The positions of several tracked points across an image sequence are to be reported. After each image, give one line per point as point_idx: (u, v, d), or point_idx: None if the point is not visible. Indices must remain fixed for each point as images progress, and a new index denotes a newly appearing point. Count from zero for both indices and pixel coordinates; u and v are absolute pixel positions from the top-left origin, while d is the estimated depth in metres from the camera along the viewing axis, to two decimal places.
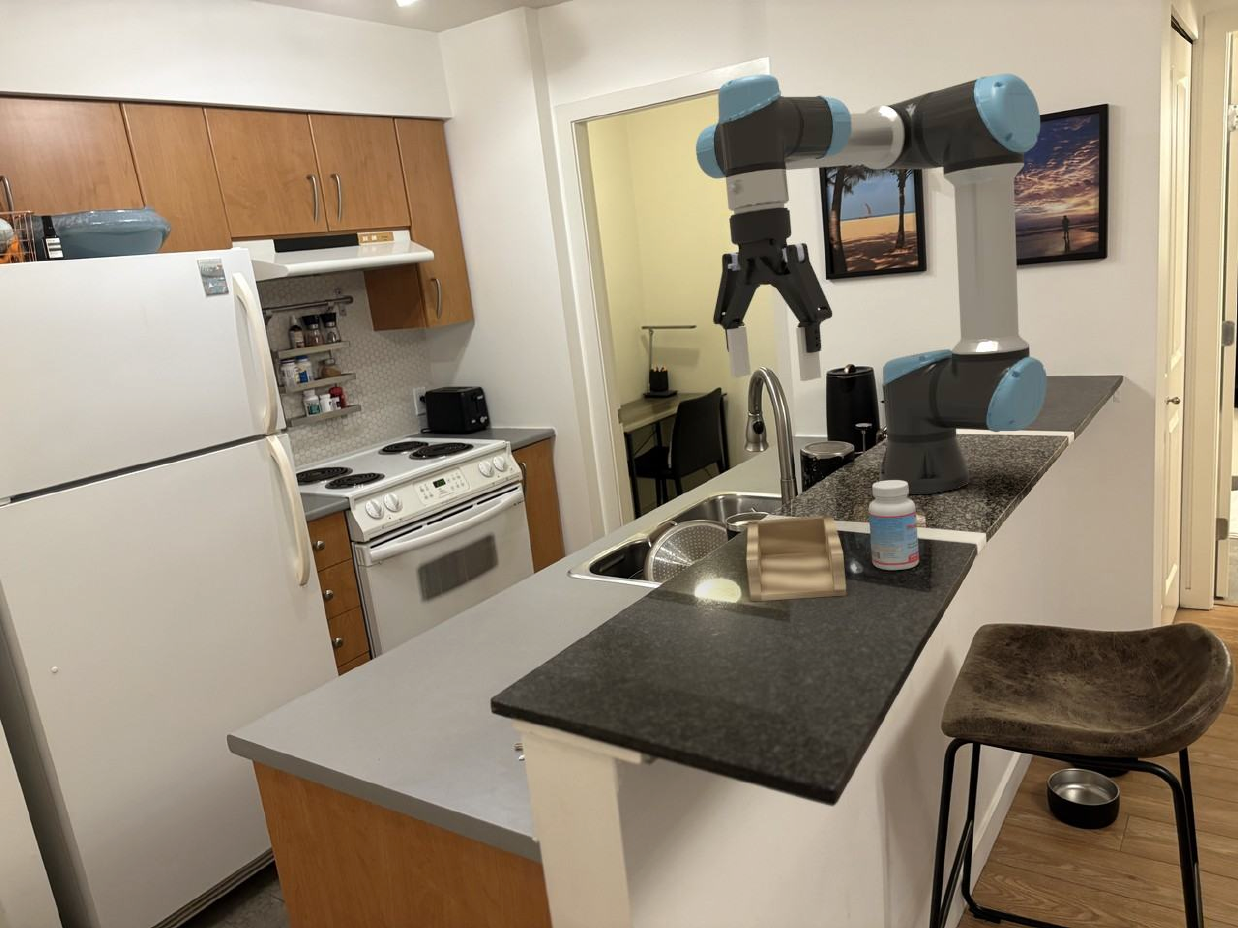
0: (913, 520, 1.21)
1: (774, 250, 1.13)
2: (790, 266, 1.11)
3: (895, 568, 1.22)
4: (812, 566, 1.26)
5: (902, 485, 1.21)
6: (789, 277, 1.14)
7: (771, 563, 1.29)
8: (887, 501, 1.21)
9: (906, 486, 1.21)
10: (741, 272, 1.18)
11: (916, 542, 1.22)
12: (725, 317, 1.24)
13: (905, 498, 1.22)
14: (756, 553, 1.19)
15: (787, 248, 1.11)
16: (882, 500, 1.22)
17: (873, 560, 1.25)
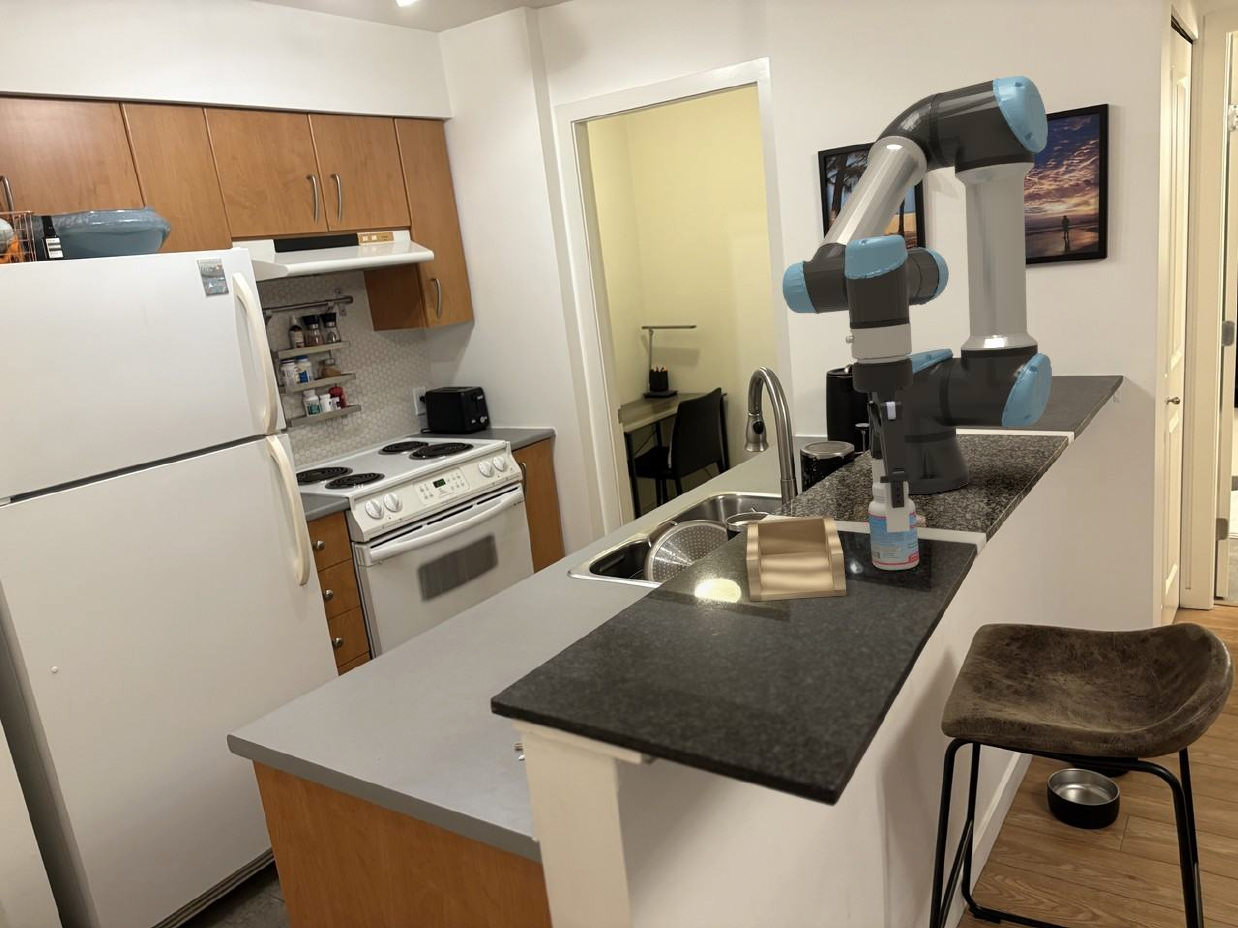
0: (913, 520, 1.21)
1: (878, 403, 1.17)
2: (881, 423, 1.15)
3: (895, 568, 1.22)
4: (812, 566, 1.26)
5: None
6: None
7: (771, 563, 1.29)
8: None
9: None
10: None
11: (916, 542, 1.22)
12: (871, 447, 1.29)
13: None
14: (756, 553, 1.19)
15: (879, 405, 1.15)
16: (882, 500, 1.22)
17: (873, 560, 1.25)
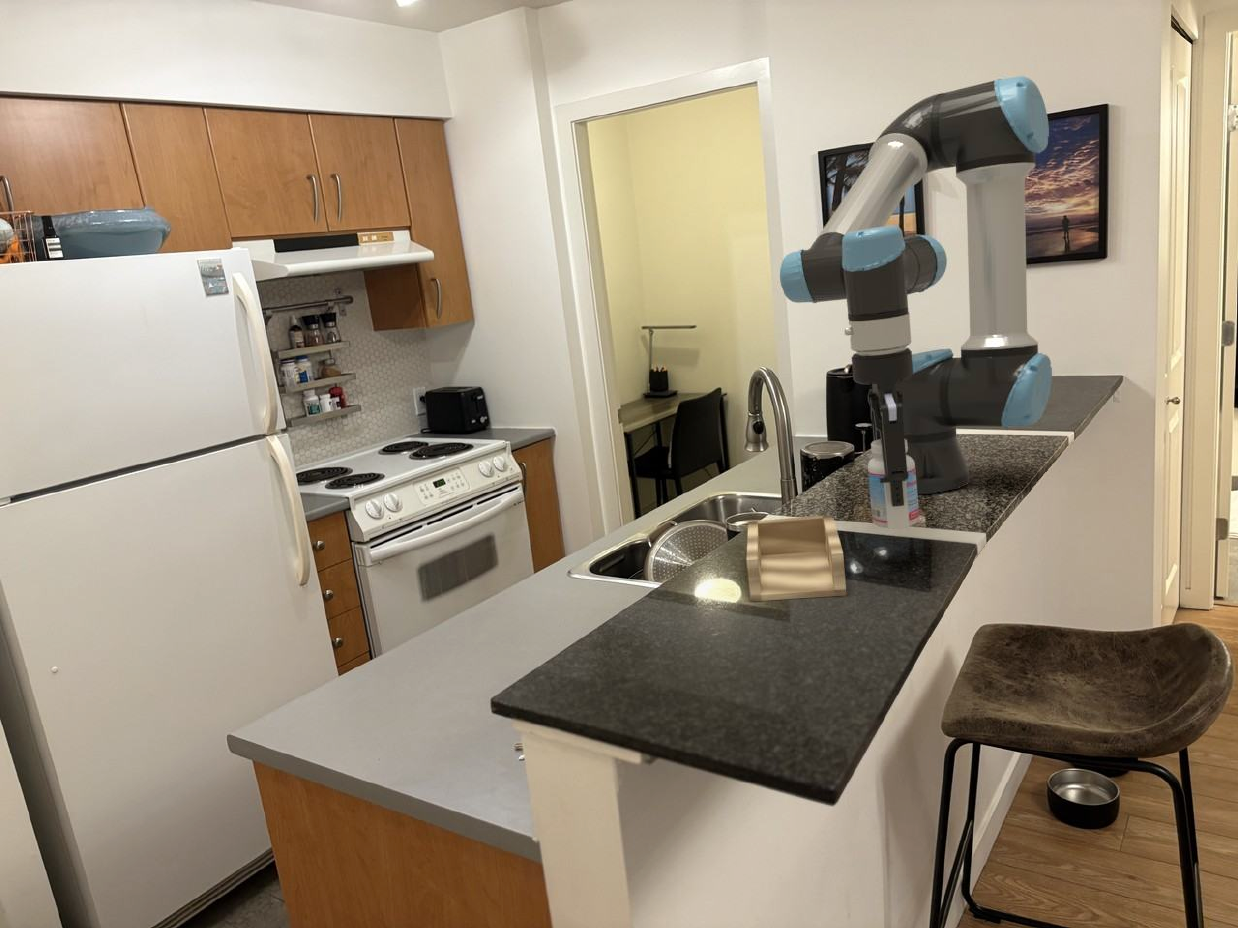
0: (912, 477, 1.21)
1: (879, 396, 1.17)
2: (882, 422, 1.16)
3: None
4: (812, 566, 1.26)
5: None
6: None
7: (771, 563, 1.29)
8: None
9: (905, 443, 1.20)
10: (870, 407, 1.23)
11: (916, 499, 1.22)
12: None
13: None
14: (756, 553, 1.19)
15: (880, 407, 1.15)
16: (881, 458, 1.21)
17: (873, 518, 1.24)
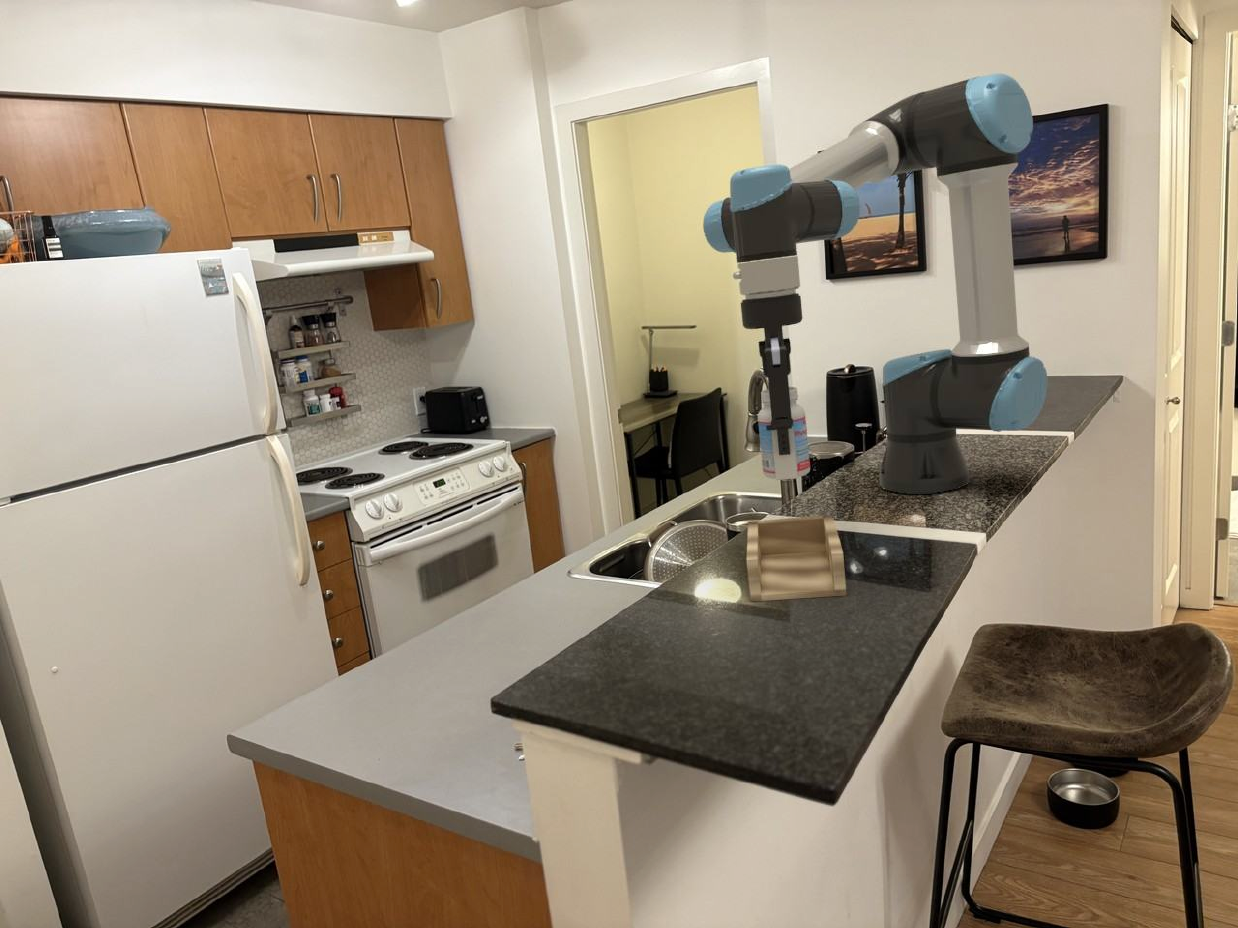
0: (801, 426, 1.17)
1: (765, 341, 1.14)
2: None
3: None
4: (812, 566, 1.26)
5: (790, 390, 1.17)
6: None
7: (771, 563, 1.29)
8: None
9: (794, 391, 1.17)
10: None
11: (806, 450, 1.18)
12: None
13: (793, 404, 1.18)
14: (756, 553, 1.19)
15: (764, 350, 1.12)
16: (770, 406, 1.18)
17: (763, 470, 1.21)
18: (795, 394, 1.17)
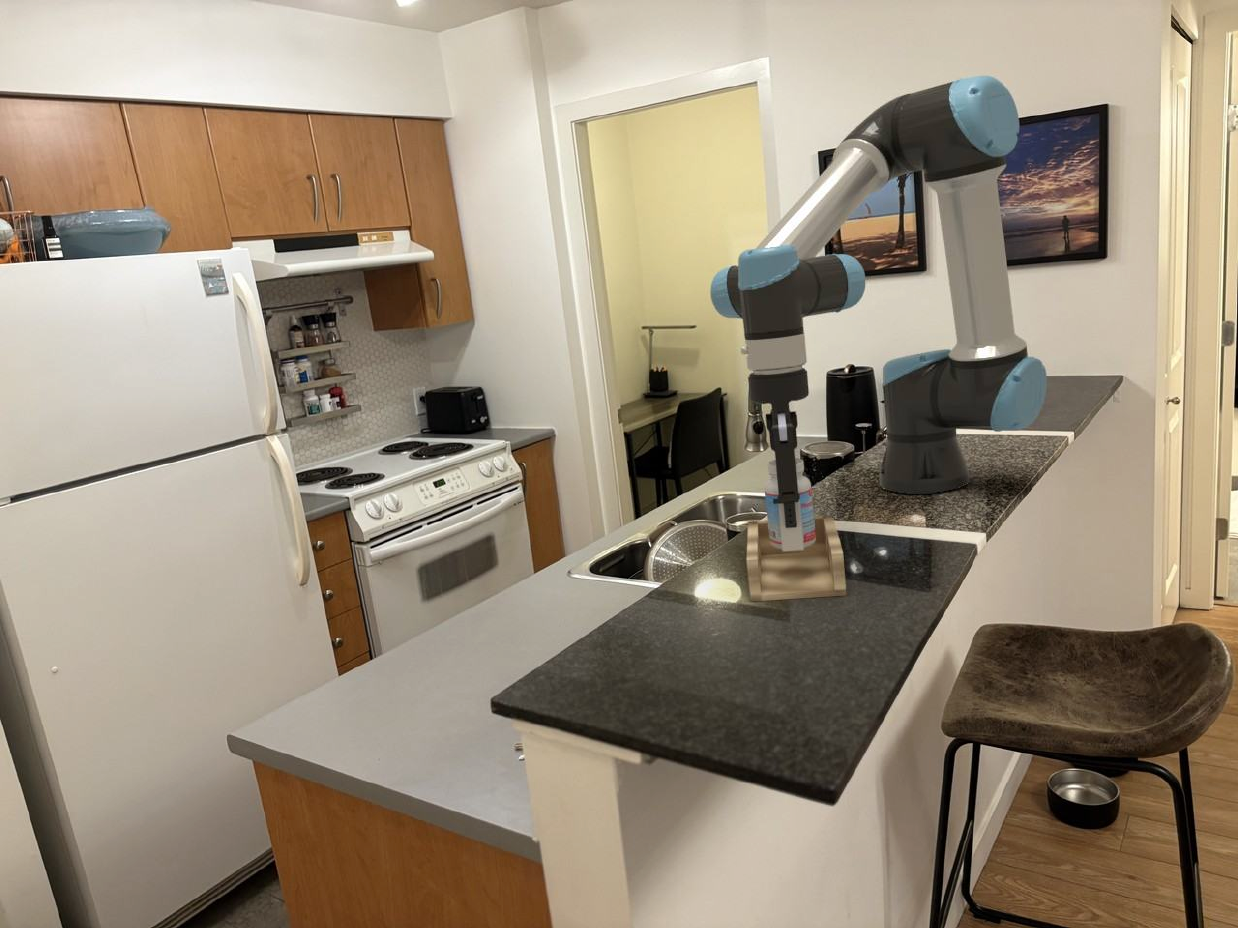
0: (808, 498, 1.19)
1: (772, 416, 1.16)
2: None
3: None
4: (812, 566, 1.26)
5: (796, 463, 1.19)
6: None
7: (771, 563, 1.29)
8: None
9: (800, 464, 1.19)
10: None
11: (812, 521, 1.20)
12: None
13: (800, 476, 1.20)
14: (756, 553, 1.19)
15: (772, 427, 1.14)
16: None
17: (770, 540, 1.22)
18: (801, 467, 1.19)
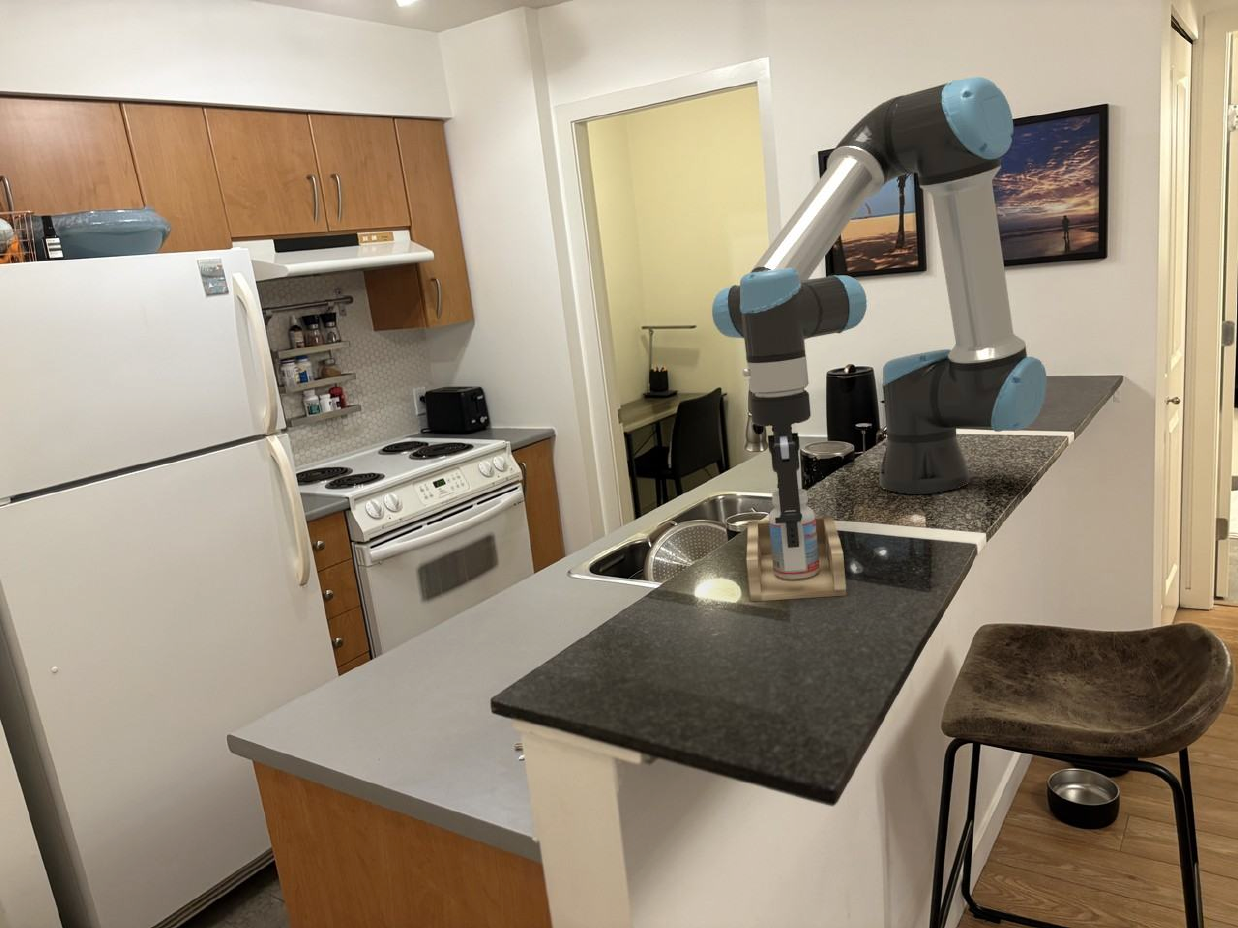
0: (811, 529, 1.20)
1: (774, 438, 1.17)
2: None
3: (794, 577, 1.21)
4: None
5: (800, 494, 1.20)
6: None
7: (771, 563, 1.29)
8: None
9: (804, 495, 1.20)
10: None
11: (815, 551, 1.21)
12: None
13: (804, 507, 1.21)
14: (756, 553, 1.19)
15: (773, 445, 1.14)
16: None
17: (774, 569, 1.23)
18: (805, 498, 1.20)
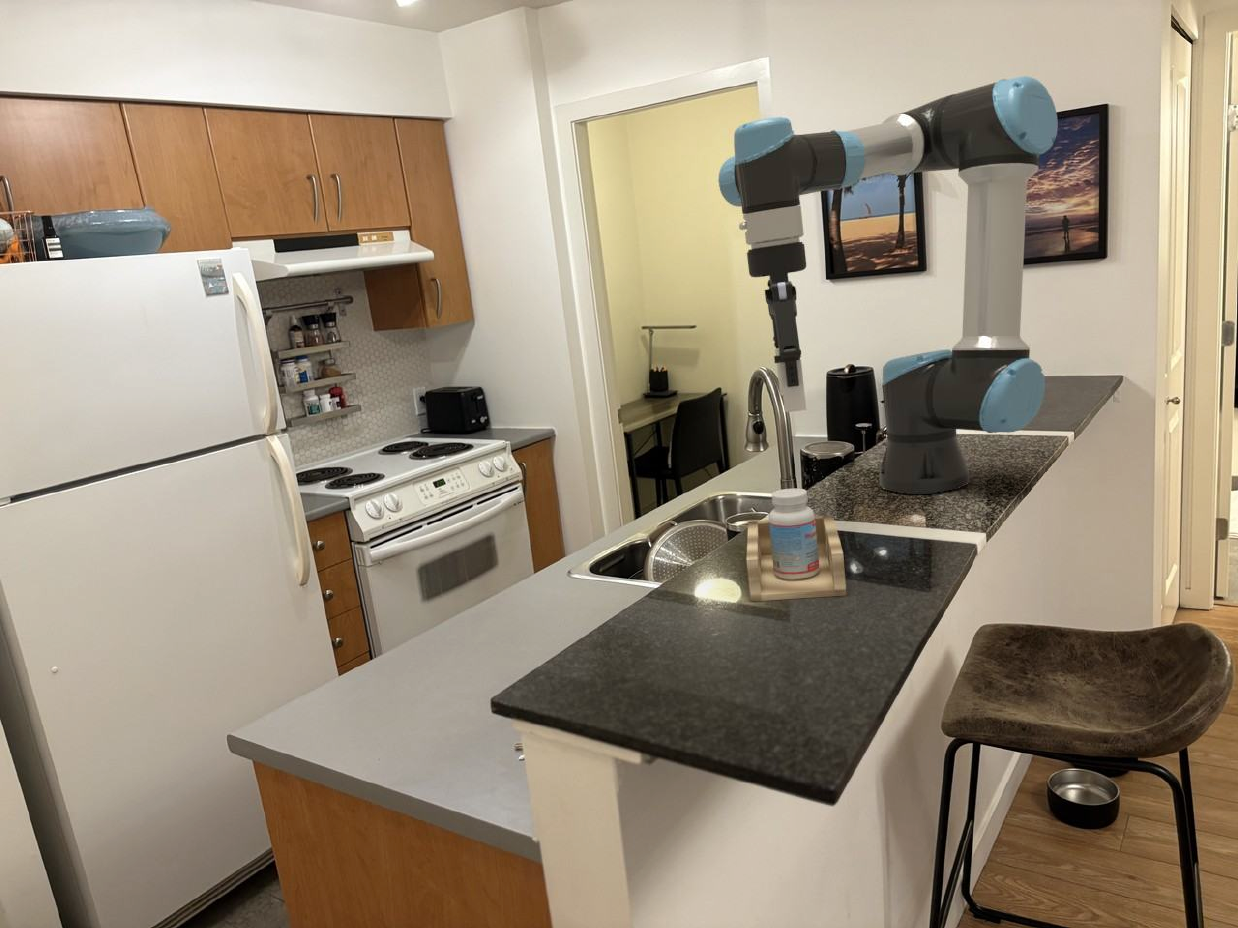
0: (811, 529, 1.20)
1: None
2: None
3: (794, 577, 1.21)
4: None
5: (800, 494, 1.20)
6: None
7: (771, 563, 1.29)
8: (785, 509, 1.20)
9: (804, 495, 1.20)
10: None
11: (815, 551, 1.21)
12: None
13: (804, 507, 1.21)
14: (756, 553, 1.19)
15: (771, 287, 1.17)
16: (781, 509, 1.21)
17: (774, 569, 1.23)
18: (805, 497, 1.20)
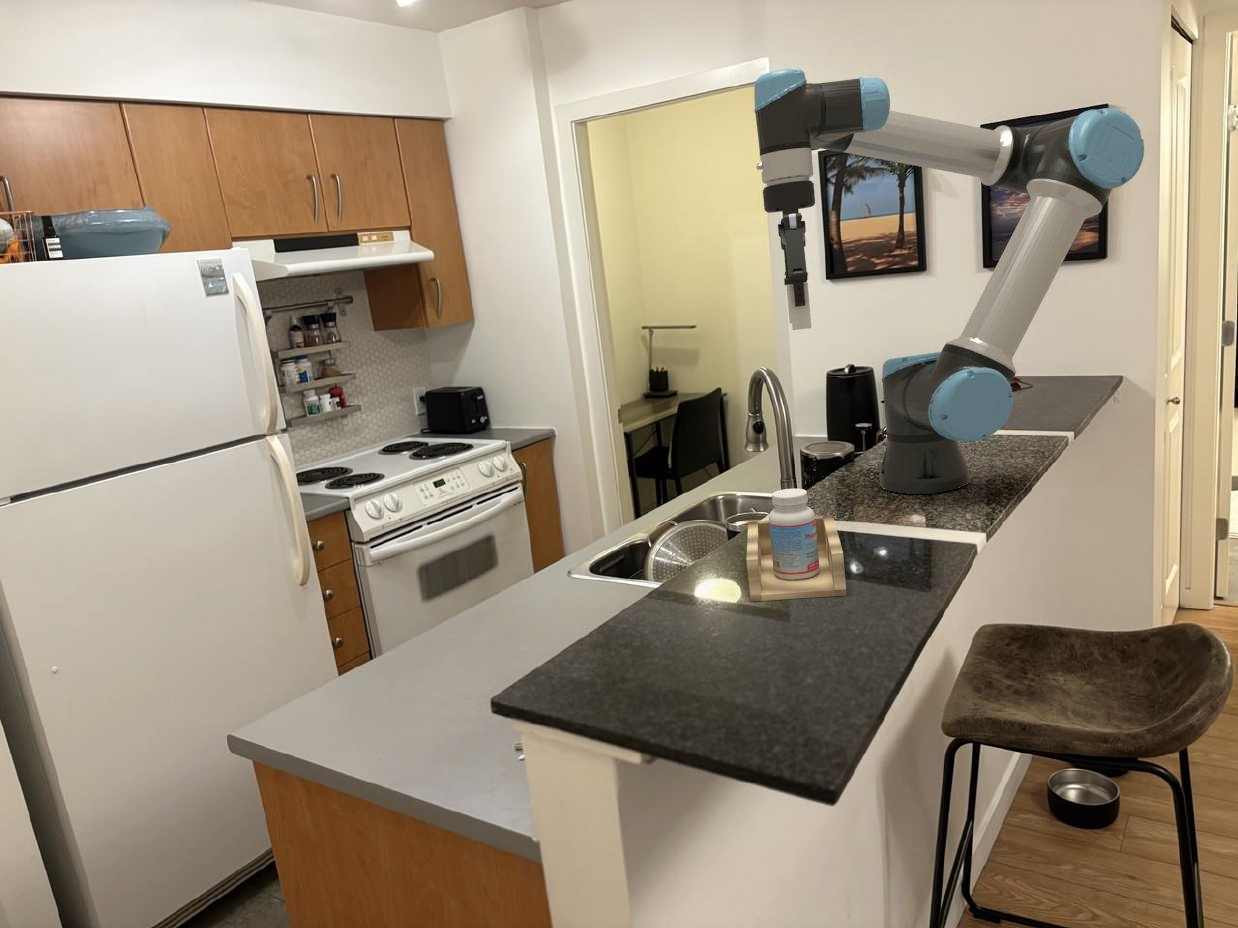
0: (811, 529, 1.20)
1: None
2: None
3: (794, 577, 1.21)
4: None
5: (800, 494, 1.20)
6: None
7: (771, 563, 1.29)
8: (785, 510, 1.20)
9: (804, 495, 1.20)
10: None
11: (815, 551, 1.21)
12: None
13: (804, 507, 1.21)
14: (756, 553, 1.19)
15: (783, 218, 1.32)
16: (781, 509, 1.21)
17: (774, 569, 1.23)
18: (805, 498, 1.20)
